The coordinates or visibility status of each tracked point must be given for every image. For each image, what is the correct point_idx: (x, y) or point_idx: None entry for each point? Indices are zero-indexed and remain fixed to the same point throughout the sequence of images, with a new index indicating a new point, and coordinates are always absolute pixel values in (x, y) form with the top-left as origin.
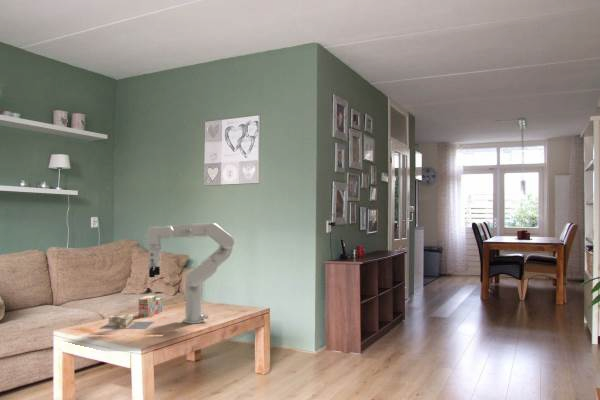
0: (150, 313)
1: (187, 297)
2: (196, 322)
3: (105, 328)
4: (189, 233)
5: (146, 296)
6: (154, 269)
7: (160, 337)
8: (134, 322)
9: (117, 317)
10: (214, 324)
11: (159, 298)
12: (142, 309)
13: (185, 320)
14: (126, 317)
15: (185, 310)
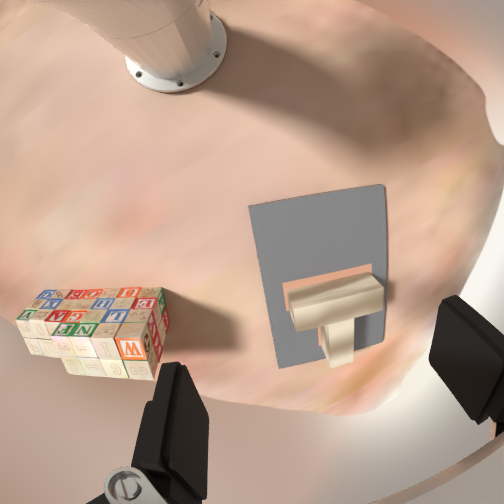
0: (131, 296)
1: (196, 3)
2: (215, 17)
3: (378, 328)
4: None
5: (87, 369)
6: (205, 488)
7: (445, 94)
8: (279, 288)
9: (353, 334)
10: None
11: (27, 324)
12: (159, 330)
13: (200, 69)
14: (360, 299)
15: (180, 61)
